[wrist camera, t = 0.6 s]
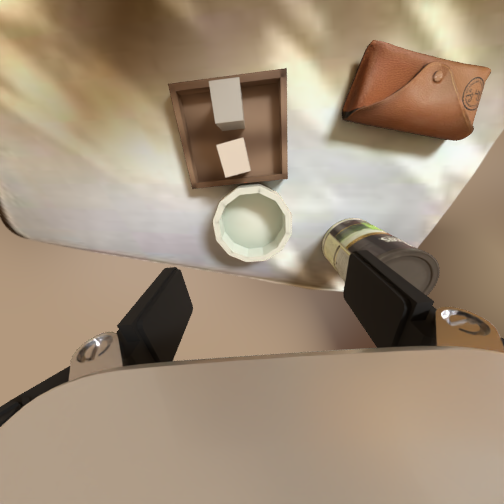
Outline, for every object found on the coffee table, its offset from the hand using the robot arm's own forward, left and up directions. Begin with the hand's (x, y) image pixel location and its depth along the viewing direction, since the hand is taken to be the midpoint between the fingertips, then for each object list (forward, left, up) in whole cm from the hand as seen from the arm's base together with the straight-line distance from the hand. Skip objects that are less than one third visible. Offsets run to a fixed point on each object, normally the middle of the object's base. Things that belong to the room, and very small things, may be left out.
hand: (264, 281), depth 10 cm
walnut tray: (-10, -3, -25) cm, 27 cm away
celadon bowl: (+4, -1, -25) cm, 25 cm away
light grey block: (-13, -3, -25) cm, 28 cm away
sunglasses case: (-14, +23, -26) cm, 37 cm away
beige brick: (-7, -3, -25) cm, 26 cm away
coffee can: (+10, +17, -25) cm, 32 cm away
